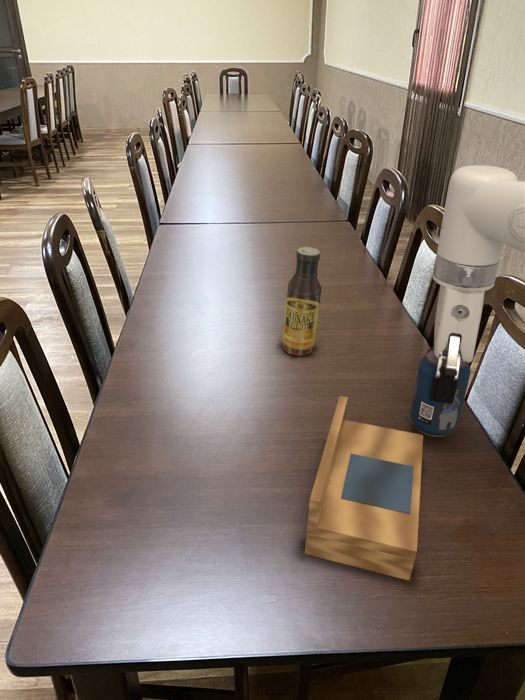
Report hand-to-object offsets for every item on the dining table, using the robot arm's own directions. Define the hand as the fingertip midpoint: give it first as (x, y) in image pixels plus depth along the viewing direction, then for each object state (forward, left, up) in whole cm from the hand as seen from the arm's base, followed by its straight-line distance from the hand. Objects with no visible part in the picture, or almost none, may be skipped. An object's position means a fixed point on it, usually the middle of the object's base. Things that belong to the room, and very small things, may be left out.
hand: (441, 385), depth 77 cm
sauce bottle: (+25, -18, -9) cm, 32 cm away
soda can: (0, 0, -7) cm, 7 cm away
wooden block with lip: (+8, +17, -9) cm, 21 cm away
